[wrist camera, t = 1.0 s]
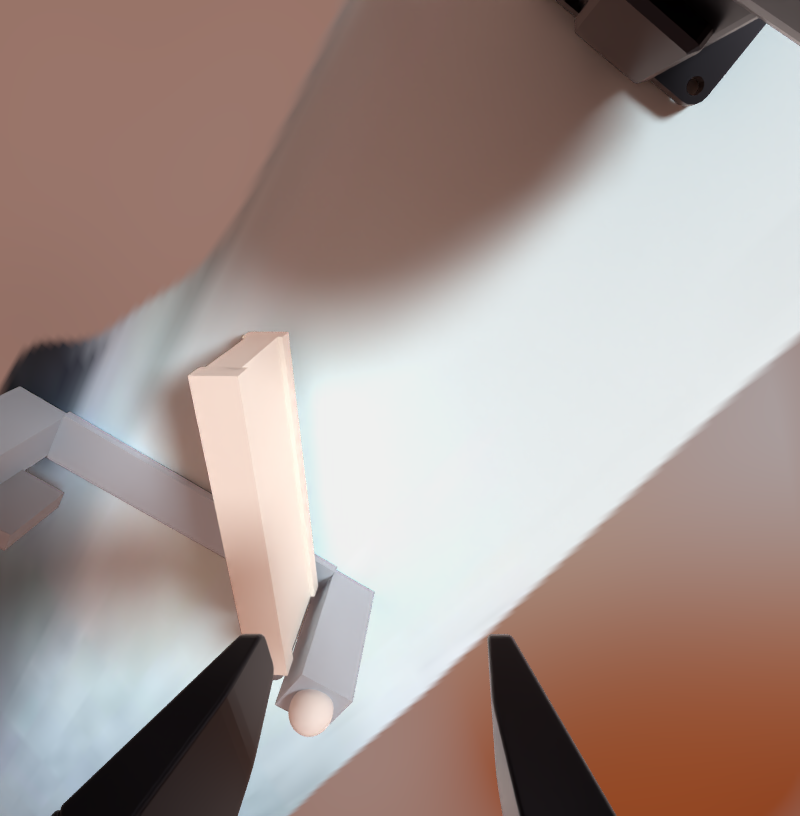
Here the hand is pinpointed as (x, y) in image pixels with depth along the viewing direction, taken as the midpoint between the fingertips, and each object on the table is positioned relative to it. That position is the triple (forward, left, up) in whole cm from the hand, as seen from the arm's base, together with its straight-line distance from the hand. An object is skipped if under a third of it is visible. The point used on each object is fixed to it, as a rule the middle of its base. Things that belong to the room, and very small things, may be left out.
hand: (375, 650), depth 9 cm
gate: (+7, -2, -12) cm, 14 cm away
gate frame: (+12, -5, -13) cm, 19 cm away
